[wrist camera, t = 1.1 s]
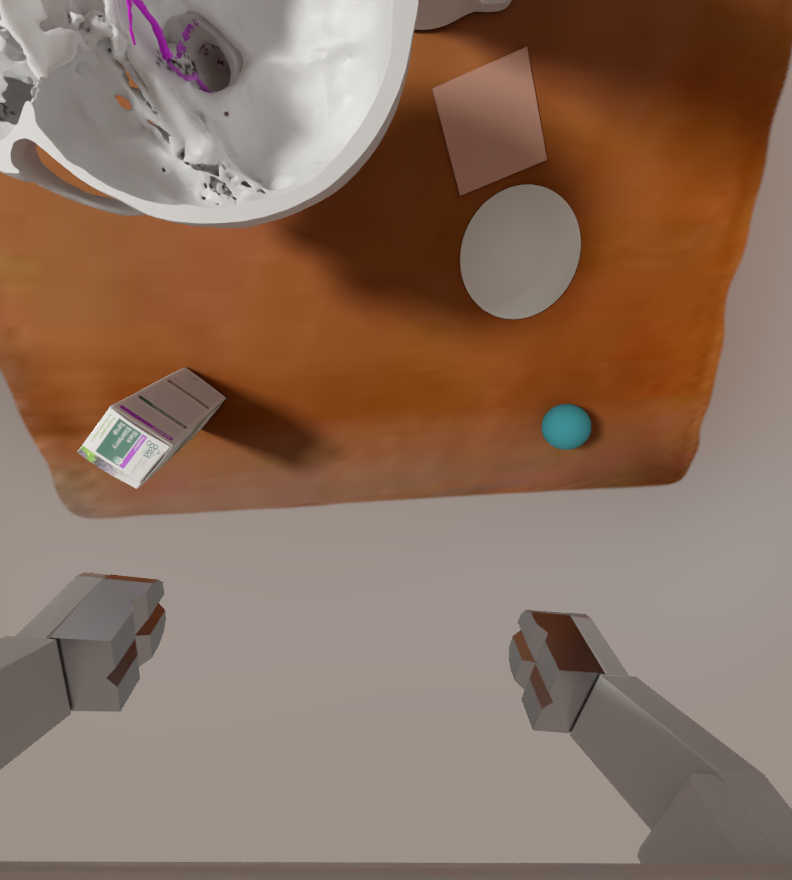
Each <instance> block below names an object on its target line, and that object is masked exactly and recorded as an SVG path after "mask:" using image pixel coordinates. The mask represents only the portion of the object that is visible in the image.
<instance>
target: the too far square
mask: <svg viewBox="0 0 792 880" xmlns="http://www.w3.org/2000/svg"><path fill="white" fill-rule="evenodd" d="M432 91H433V95H434V99H435V103H436V106H437V110H438V114H439V118H440V122H441V126H442V129H443V133H444V137H445V141H446V145H447V149H448V152H449V156H450V160H451V164H452V168H453V172H454V175H455V179H456V183H457V187H458V191H459V195H460V196H462V195H464V194H466V193H469V192H471V191H474V190H476V189H478V188H481V187H483V186H486V185H488V184H490V183H493V182H495V181H498V180H500V179H502V178H505V177H507V176H510V175H512V174H514V173H517V172H519V171H522V170H524V169H526V168H529V167H531V166H534V165H536V164H538V163H541V162H543V161H546V160H547V156H546V151H545V145H544V139H543V134H542V128H541V122H540V117H539V111H538V106H537V100H536V94H535V89H534V83H533V77H532V72H531V66H530V60H529V55H528V49H527V47H525V48H522V49H520V50H518V51H516V52H513V53H511V54H509V55H507V56H504V57H502V58H500V59H498V60H495V61H493V62H491V63H489V64H486V65H484V66H482V67H480V68H477V69H475V70H473V71H471V72H468V73H466V74H464V75H462V76H459V77H457V78H455V79H453V80H450V81H448V82H446V83H444V84H441V85H439V86H437V87H435V88H432Z"/></svg>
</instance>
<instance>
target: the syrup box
mask: <svg viewBox="0 0 792 880" xmlns="http://www.w3.org/2000/svg"><path fill="white" fill-rule="evenodd" d="M225 399H226V397H225V396H223V395H222V394H221V393H220V392H218V391H217V390H216V389H214V388H213V387H212V386H210V385H209V384H208V383H206V382H205V381H204V380H202V379H201V378H200V377H198V376H197V375H196V374H194V373H193V372H192V371H190V370H189V369H187V368H186V367H184V368H182V369H180V370H178V371H176V372H174V373H172V374H170V375H168V376H166V377H165V378H163V379H161V380H159V381H157V382H155V383H153V384H151V385H149V386H148V387H146V388H144V389H142V390H140V391H138V392H136V393H135V394H133V395H131V396H129V397H127V398H125V399H123V400H122V401H120V402H118V403H116V404H114V405H112V406H110V407H109V409H108V410H107V412H106V413H105V415H104V416H103V417H102V419H101V420H100V421H99V423H98V424H97V426H96V427H95V428H94V430H93V431H92V433H91V434H90V435H89V437H88V438H87V440H86V441H85V442H84V444H83V445H82V446H81V448H80V449H79V450H78V453H79V454H80V455H82V456H83V457H84V458H86V459H87V460H89V461H90V462H92V463H93V464H95V465H96V466H98V467H99V468H101V469H102V470H104V471H105V472H107V473H109V474H111V475H112V476H114V477H116V478H118V479H120V480H121V481H123V482H125V483H127V484H129V485H131V486H133V487H134V488H135V489H137V488H139V487H140V486H141V485H142V484H143V483H145V482H146V481H147V480H148V479H149V478H150V477H151V476H152V475H153V474H154V473H156V472H157V471H158V470H159V469H160V468H161V467H162V466H163V465H164V464H165V463H166V462H167V461H168V460H169V459H170V458H171V457H172V456H173V455H174V454H176V453H177V452H178V451H179V450H180V449H181V448H182V447H183V446H184V445H185V444H186V443H187V442H188V441H189V440H191V439H192V438H193V437H194V436H195V435H196V434H197V433H198V432H199V431H200V430H201V429H202V428H203V427H204V425H205V424H206V423H207V422H208V420H209V419H210V418H211V416H212V415H213V414H214V413H215V412H216V410H217V409H218V408H219V407H220V405H221V404H222V403H223V402H224V400H225Z"/></svg>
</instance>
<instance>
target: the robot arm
mask: <svg viewBox="0 0 792 880" xmlns="http://www.w3.org/2000/svg"><path fill="white" fill-rule="evenodd" d="M511 1H512V0H419V3H418V10H417V17H416V24H415V29H416V30H429V29H435V28H439V27H442V26H445V25H447V24H450V23H452V22H454V21H455V20H457V19H459V18H461V17H463V16H465V15H467V14H469V13H472V12H497V11H501V10H504V9H505V8H507V7H508V6H509V5H510V3H511ZM163 595H164V588H163V582H162V581H160V580H155V579H147V578H137V577H128V576H119V575H104V574H94V573H82V574H80V575H78V576H76V577H75V578H74V579H73V580H72V581H71V582H69V583H68V584H67V586H66V587H65V588H63V589H62V590H61V591H60V592H59V593H58V594H57V595H56V596H55V597H54V598H53V599H52V600H51V601H50V602H49V603H48V604H47V605H46V606H45V607H44V608H43V609H42V610H41V611H40V612H39V613H38V614H37V615H36V616H35V617H34V618H33V619H32V620H31V621H30V622H29V623H28V624H27V625H26V626H25V627H24V628H23V629H22V630H21V631H20V632H19V633H18V634H17V635H16V636H15V637H11V636H5V637H3V638H1V639H0V769H2V768H3V767H4V766H5V765H7V764H8V763H9V762H10V761H12V760H13V759H14V758H15V757H17V756H18V755H19V754H20V753H22V752H23V751H24V750H25V749H27V748H28V747H29V746H31V745H32V744H33V743H34V742H36V741H37V740H38V739H40V738H41V737H42V736H43V735H45V734H46V733H47V732H48V731H50V730H51V729H52V728H53V727H55V726H56V725H57V724H58V723H60V722H61V721H62V720H64V719H65V718H66V717H67V716H69V715H70V714H71V711H119V712H120V711H121V710H122V708H123V706H124V704H125V703H126V701H127V699H128V698H129V696H130V694H131V693H132V691H133V689H134V687H135V686H136V684H137V682H138V681H139V679H140V675H139V666H141V665H142V664H143V663H145V662H146V661H148V660H150V659H151V658H152V657H153V655H154V653H155V651H156V649H157V648H158V646H159V643H160V640H161V638H162V635H163V632H164V627H165V620H166V616H165V610H164V608H163V607H162V606H161V605H160V604H159V601H160V599H161V598H162V597H163ZM518 624H519V626H520V628H521V630H520V631H519V632H518V633H517V634H515V635H514V636H513V637H512V640H511V643H510V646H509V662H510V667H511V671H512V674H513V677H514V680H515V681H516V682H517V683H518V684H519V685H520V686H521V687H522V688H523V689H524V693H523V697H522V702H523V705H524V707H525V710H526V713H527V715H528V718H529V721H530V724H531V726H532V729H533V730H537V731H550V732H562V733H571V734H570V736H571V737H572V738H573V739H574V740H575V742H576V743H577V744H578V745H579V746H580V748H581V749H582V750H583V751H584V752H585V753H586V755H587V756H588V757H589V758H590V759H591V760H592V762H593V763H594V764H595V765H596V766H597V767H598V768H599V770H600V771H601V772H602V773H603V774H604V776H605V777H606V778H607V779H608V780H609V782H610V783H611V784H612V785H613V786H614V787H615V789H617V791H618V792H619V793H620V794H621V796H622V797H623V798H624V799H625V800H626V801H627V802H628V804H629V805H630V806H631V807H632V808H633V809H634V811H635V812H636V813H637V814H638V815H639V817H641V819H642V820H643V821H644V822H645V823H646V825H647V826H648V827H649V828H650V829H651V833H650V834H649V835H648V837H647V838H646V839H645V841H644V842H643V844H642V845H641V847H640V849H639V852H638V858H639V860H640V863H641V864H595V863H579V864H578V863H573V864H572V863H341V862H340V863H339V862H336V863H334V862H331V863H330V862H323V863H322V862H313V863H312V862H23V861H21V862H20V861H18V862H16V861H14V862H13V861H7V862H6V861H0V880H792V809H791V808H790V807H789V806H788V804H787V803H786V802H785V800H784V799H783V798H782V797H781V795H780V794H779V793H778V792H777V790H776V789H775V788H774V787H773V785H772V784H771V783H770V782H769V780H768V779H767V778H766V777H765V775H764V774H763V773H761V772H760V771H759V770H757V769H756V768H755V767H753V766H752V765H751V764H750V763H748V762H747V761H746V760H744V759H743V758H742V757H740V756H739V755H738V754H736V753H735V752H734V751H733V750H731V749H730V748H729V747H727V746H726V745H725V744H723V743H722V742H720V741H719V740H718V739H717V738H715V737H714V736H713V735H711V734H710V733H709V732H707V731H706V730H705V729H704V728H702V727H701V726H700V725H698V724H697V723H696V722H695V721H693V720H692V719H691V718H689V717H688V716H687V715H685V714H684V713H683V712H681V711H680V710H679V709H677V708H676V707H675V706H673V705H672V704H671V703H670V702H668V701H667V700H666V699H664V698H663V697H662V696H660V695H659V694H658V693H656V692H655V691H654V690H652V689H651V688H650V687H649V686H647V685H646V684H645V683H643V682H642V681H641V680H639V679H638V678H637V677H633V676H629V675H628V673H627V672H626V670H625V669H624V668H623V666H622V664H621V663H620V661H619V660H618V658H617V657H616V655H615V654H614V652H613V651H612V649H611V648H610V646H609V645H608V643H607V642H606V640H605V639H604V637H603V636H602V634H601V633H600V631H599V630H598V628H597V627H596V625H595V624H594V622H593V621H592V619H591V618H590V617H588V616H587V615H586V614H576V613H560V612H546V611H532V610H525V611H524V612H523V613H522V614H521V615H520V618H519V621H518Z"/></svg>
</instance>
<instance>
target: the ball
mask: <svg viewBox="0 0 792 880" xmlns="http://www.w3.org/2000/svg"><path fill="white" fill-rule="evenodd" d="M542 433H543V436H544V438H545V439H546V441H547V442H548V443H549V444H551V445H552V446H554V447H556V448H558V449H563V450H569V449H574V448H577V447H579V446H581V445H582V444H583V443H584V442H585V441H586V440H587V439H588V437H589V435H590V433H591V420H590V418H589V416H588V414H587V413H586V412H585V411H584V410H583V409H582V408H580V407H578V406H576V405H572V404H561V405H558V406H555V407H553V408H552V409H550V410H549V411H548V412H547V413H546V415H545V416H544V418H543V421H542Z"/></svg>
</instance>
